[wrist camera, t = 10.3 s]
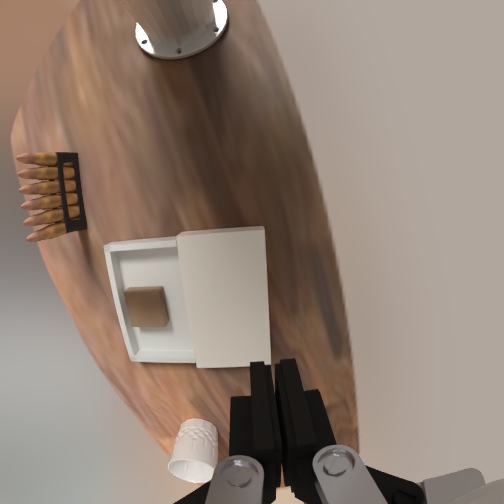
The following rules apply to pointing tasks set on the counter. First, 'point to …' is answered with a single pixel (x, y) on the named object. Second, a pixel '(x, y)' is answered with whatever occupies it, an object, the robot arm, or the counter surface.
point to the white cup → (195, 451)
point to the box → (144, 275)
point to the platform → (226, 295)
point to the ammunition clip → (53, 194)
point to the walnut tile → (146, 306)
